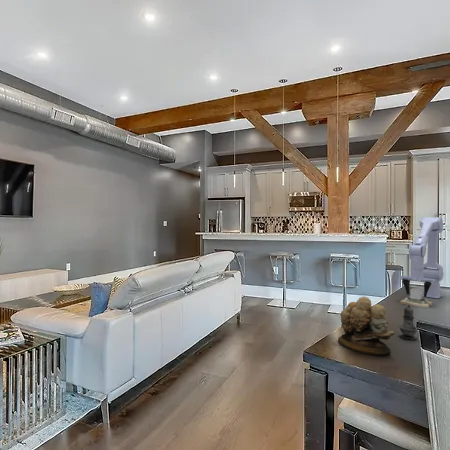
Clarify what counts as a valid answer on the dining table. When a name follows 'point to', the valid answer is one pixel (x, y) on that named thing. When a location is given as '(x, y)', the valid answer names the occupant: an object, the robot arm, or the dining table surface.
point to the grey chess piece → (408, 324)
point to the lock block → (416, 294)
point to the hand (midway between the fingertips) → (416, 295)
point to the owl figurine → (365, 328)
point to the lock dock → (417, 302)
